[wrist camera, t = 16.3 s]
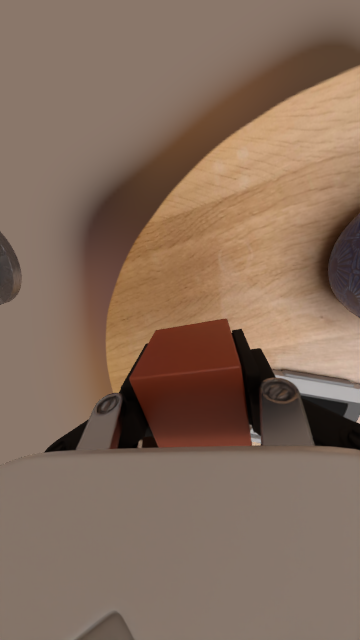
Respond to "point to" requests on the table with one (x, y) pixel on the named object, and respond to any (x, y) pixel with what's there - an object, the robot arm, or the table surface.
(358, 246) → the planter
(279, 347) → the table surface
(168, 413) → the block
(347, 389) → the alarm clock
